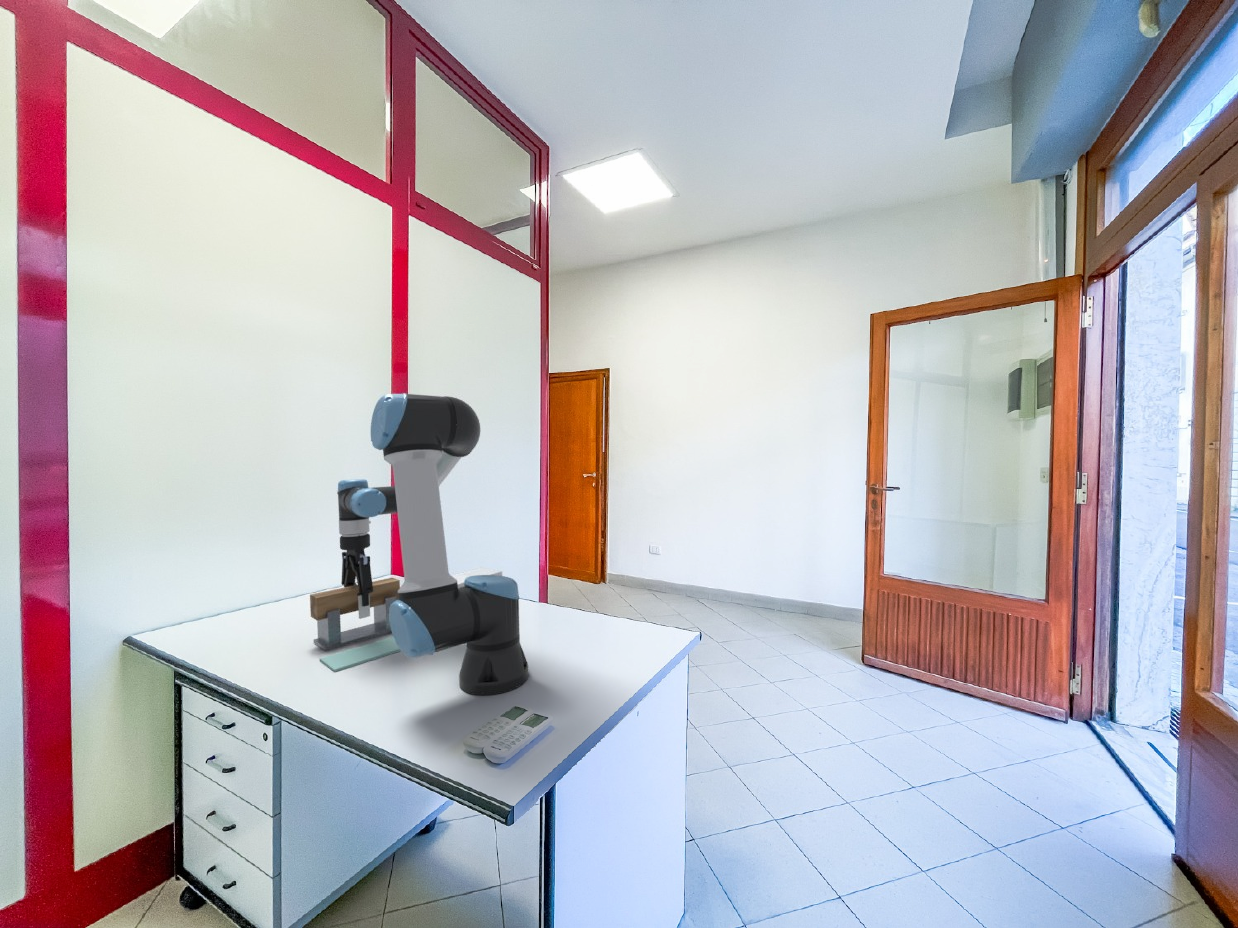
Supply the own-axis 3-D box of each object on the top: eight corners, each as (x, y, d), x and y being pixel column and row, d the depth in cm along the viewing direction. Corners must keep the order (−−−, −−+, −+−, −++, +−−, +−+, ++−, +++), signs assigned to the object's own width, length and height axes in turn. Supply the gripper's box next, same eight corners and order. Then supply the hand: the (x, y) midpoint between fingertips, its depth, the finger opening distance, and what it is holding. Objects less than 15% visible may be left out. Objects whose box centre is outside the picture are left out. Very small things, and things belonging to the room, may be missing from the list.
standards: (401, 629, 144) (399, 595, 144) (325, 651, 130) (323, 613, 129) (387, 622, 150) (386, 590, 150) (313, 643, 136) (312, 606, 135)
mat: (430, 641, 135) (430, 639, 135) (334, 672, 117) (334, 669, 117) (413, 632, 142) (413, 630, 142) (319, 660, 124) (319, 658, 124)
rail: (400, 600, 146) (399, 580, 146) (317, 620, 130) (316, 597, 130) (392, 597, 150) (392, 577, 149) (310, 616, 133) (309, 594, 133)
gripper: (384, 536, 135) (387, 618, 136) (354, 528, 149) (356, 603, 150) (355, 540, 129) (358, 625, 130) (326, 532, 143) (329, 609, 144)
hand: (357, 613), depth 140 cm, fingers open, 9 cm apart
